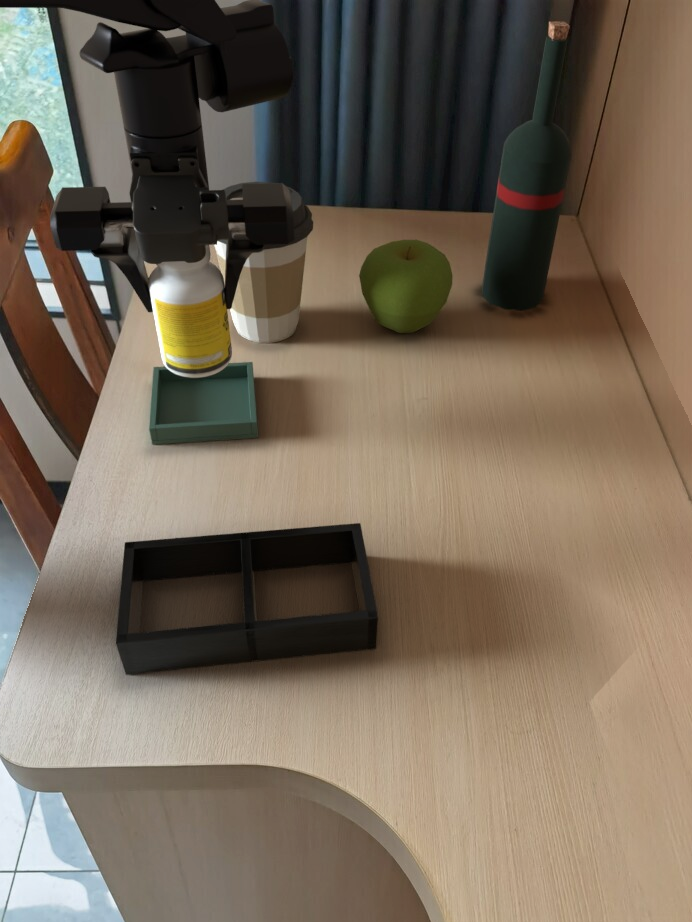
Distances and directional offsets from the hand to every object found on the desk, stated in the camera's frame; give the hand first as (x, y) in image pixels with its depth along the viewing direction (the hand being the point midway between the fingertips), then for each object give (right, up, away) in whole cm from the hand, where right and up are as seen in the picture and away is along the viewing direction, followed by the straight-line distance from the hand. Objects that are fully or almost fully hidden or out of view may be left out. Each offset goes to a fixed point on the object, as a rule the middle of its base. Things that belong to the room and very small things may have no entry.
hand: (189, 308), depth 71 cm
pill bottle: (0, -4, +4) cm, 6 cm away
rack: (+7, -26, -7) cm, 28 cm away
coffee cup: (+3, +3, +22) cm, 23 cm away
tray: (-1, -7, +11) cm, 13 cm away
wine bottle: (+33, +10, +31) cm, 46 cm away
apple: (+19, +4, +24) cm, 31 cm away
